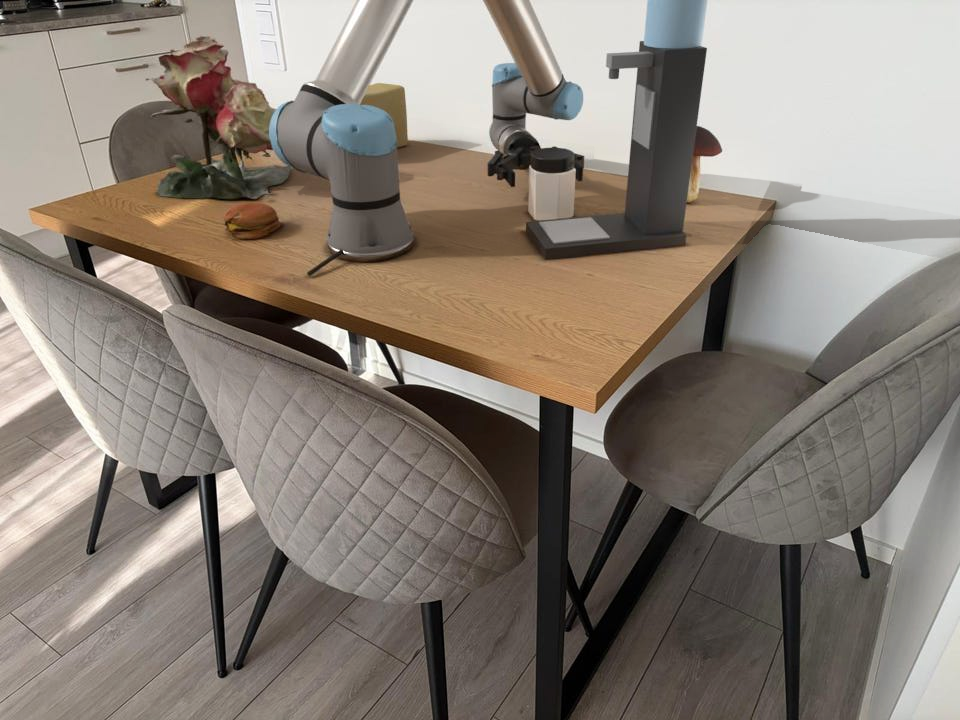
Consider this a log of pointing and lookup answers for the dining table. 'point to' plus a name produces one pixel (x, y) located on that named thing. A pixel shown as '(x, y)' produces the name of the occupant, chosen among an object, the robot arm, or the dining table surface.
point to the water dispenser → (647, 142)
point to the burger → (251, 220)
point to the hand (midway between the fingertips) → (547, 177)
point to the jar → (551, 184)
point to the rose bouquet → (217, 125)
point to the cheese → (390, 106)
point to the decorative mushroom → (705, 147)
